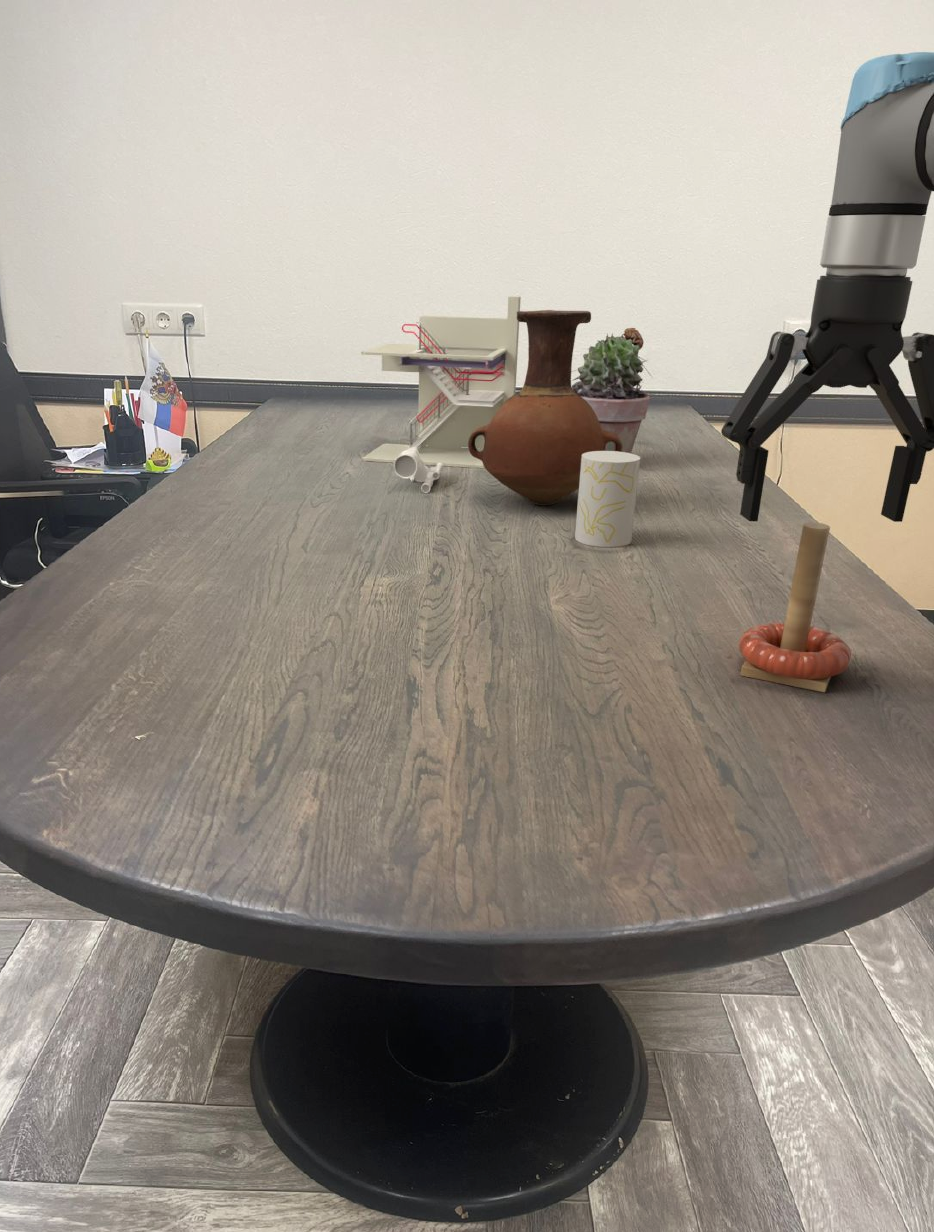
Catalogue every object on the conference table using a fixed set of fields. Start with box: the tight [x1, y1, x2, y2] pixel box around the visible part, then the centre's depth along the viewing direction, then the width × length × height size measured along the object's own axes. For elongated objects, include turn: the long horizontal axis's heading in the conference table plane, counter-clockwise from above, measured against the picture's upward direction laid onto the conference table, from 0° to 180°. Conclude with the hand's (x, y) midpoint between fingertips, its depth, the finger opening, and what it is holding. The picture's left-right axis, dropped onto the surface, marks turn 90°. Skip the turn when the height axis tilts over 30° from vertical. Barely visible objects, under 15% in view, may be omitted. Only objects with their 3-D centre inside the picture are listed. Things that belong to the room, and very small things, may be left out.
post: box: [740, 521, 832, 693], centre depth 93 cm, size 8×8×15 cm
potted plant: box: [571, 327, 659, 454], centre depth 182 cm, size 18×20×25 cm
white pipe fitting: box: [393, 447, 444, 494], centre depth 169 cm, size 8×14×5 cm
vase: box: [468, 309, 622, 506], centre depth 152 cm, size 25×20×30 cm
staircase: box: [360, 296, 521, 469], centre depth 184 cm, size 28×18×30 cm, turn 76°
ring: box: [738, 622, 852, 679], centre depth 95 cm, size 10×10×3 cm
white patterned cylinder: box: [574, 451, 641, 548], centre depth 136 cm, size 8×8×12 cm
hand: (820, 518), depth 90 cm, fingers open, 13 cm apart
